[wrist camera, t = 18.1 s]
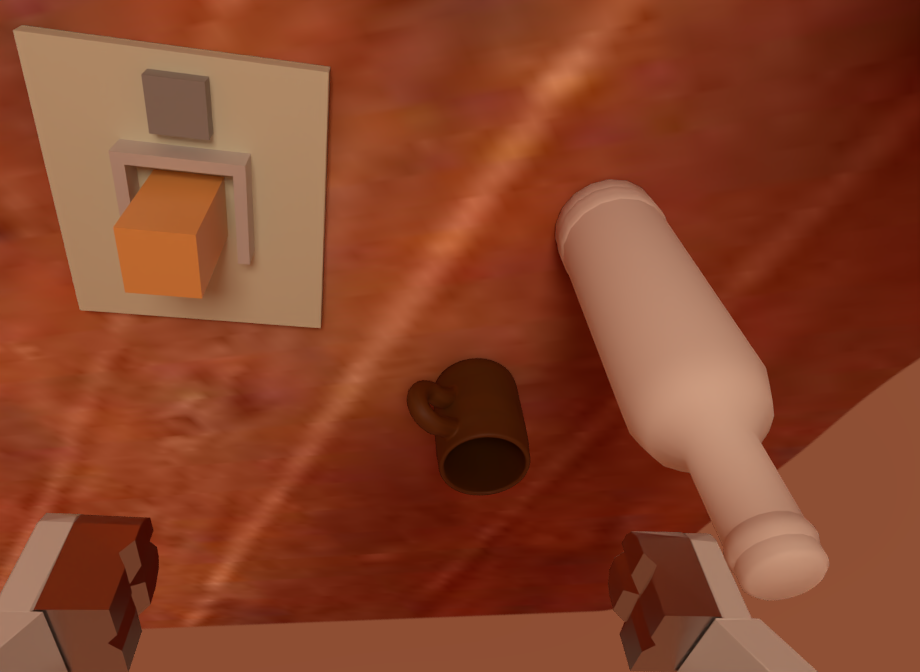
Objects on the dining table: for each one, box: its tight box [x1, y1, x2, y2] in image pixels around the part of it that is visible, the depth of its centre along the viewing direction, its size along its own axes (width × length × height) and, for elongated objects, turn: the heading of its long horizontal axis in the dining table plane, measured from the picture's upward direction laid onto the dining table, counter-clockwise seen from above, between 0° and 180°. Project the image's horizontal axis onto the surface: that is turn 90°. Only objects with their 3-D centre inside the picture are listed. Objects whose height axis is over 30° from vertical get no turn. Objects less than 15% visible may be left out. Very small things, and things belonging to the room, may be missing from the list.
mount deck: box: [13, 25, 330, 328], centre depth 45 cm, size 20×18×3 cm
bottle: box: [555, 179, 829, 600], centre depth 39 cm, size 8×8×30 cm
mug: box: [407, 359, 530, 495], centre depth 55 cm, size 12×8×9 cm, turn 44°
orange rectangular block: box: [113, 169, 228, 299], centre depth 42 cm, size 4×4×8 cm
